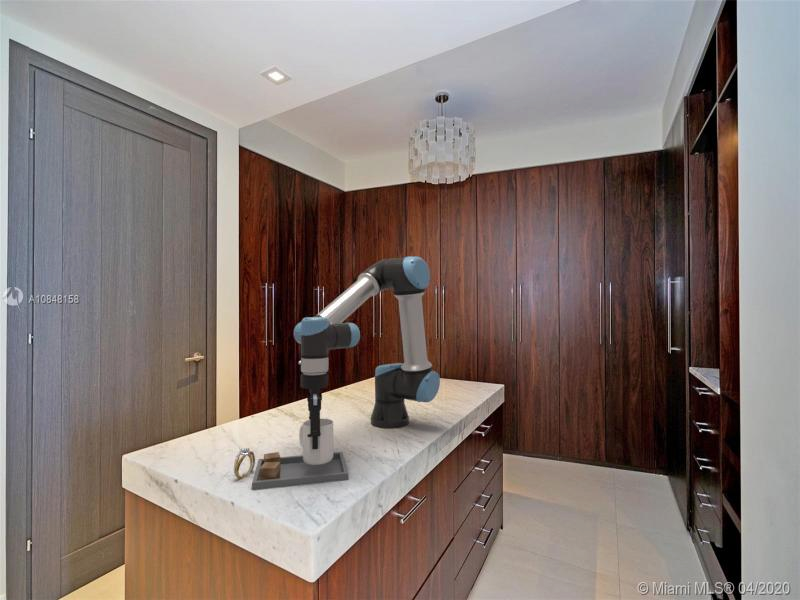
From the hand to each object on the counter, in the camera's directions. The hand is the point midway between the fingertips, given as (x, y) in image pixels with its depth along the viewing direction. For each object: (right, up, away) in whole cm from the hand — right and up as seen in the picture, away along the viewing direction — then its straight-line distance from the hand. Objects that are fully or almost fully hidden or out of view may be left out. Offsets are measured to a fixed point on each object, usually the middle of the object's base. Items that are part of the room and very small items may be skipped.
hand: (314, 453), depth 112 cm
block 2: (-10, -5, -6) cm, 13 cm away
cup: (0, -2, +1) cm, 2 cm away
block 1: (-12, -5, +1) cm, 13 cm away
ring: (-18, -6, -3) cm, 19 cm away
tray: (-3, -6, -1) cm, 7 cm away
